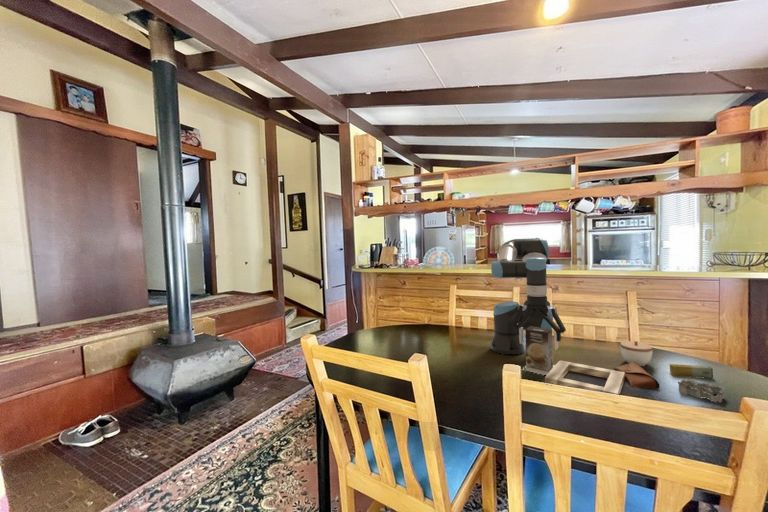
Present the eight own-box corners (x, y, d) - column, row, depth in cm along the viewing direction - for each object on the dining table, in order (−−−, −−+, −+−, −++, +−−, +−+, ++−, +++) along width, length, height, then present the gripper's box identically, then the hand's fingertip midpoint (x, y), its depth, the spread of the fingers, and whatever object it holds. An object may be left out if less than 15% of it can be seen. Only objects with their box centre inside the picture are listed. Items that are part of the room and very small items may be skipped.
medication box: (709, 376, 120) (709, 366, 119) (714, 379, 117) (713, 368, 117) (669, 373, 124) (669, 363, 124) (672, 376, 121) (672, 365, 121)
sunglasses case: (611, 367, 131) (620, 354, 130) (628, 377, 130) (638, 363, 129) (631, 387, 114) (643, 371, 113) (652, 398, 112) (663, 383, 111)
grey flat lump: (675, 393, 109) (675, 381, 109) (683, 386, 113) (683, 375, 113) (720, 405, 100) (720, 392, 100) (726, 397, 104) (726, 385, 104)
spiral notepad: (521, 370, 133) (521, 369, 133) (531, 361, 142) (531, 360, 142) (548, 376, 126) (547, 374, 126) (556, 366, 135) (556, 365, 135)
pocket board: (545, 383, 120) (544, 377, 120) (559, 366, 135) (559, 360, 135) (617, 401, 105) (617, 393, 105) (624, 378, 121) (624, 372, 120)
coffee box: (525, 367, 134) (524, 329, 134) (530, 362, 139) (529, 325, 138) (549, 372, 128) (547, 332, 128) (553, 367, 133) (552, 328, 132)
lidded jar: (659, 368, 128) (658, 345, 128) (628, 367, 130) (628, 345, 130) (643, 358, 139) (643, 337, 138) (615, 358, 141) (615, 337, 140)
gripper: (503, 294, 138) (505, 342, 139) (568, 298, 121) (570, 354, 122) (509, 291, 144) (511, 338, 145) (573, 295, 127) (574, 348, 128)
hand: (538, 345), depth 134 cm, fingers open, 13 cm apart
